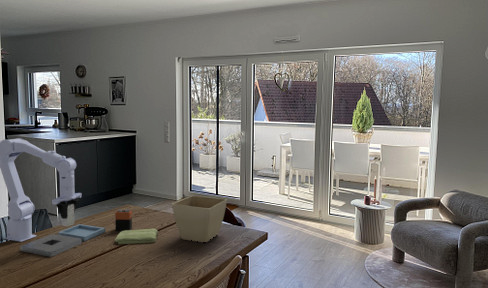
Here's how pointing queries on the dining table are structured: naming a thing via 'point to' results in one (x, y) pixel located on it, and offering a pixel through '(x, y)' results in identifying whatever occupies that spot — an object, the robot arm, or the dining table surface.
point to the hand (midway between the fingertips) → (67, 217)
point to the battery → (123, 220)
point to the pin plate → (45, 247)
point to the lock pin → (69, 216)
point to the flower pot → (199, 217)
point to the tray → (82, 232)
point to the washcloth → (137, 236)
